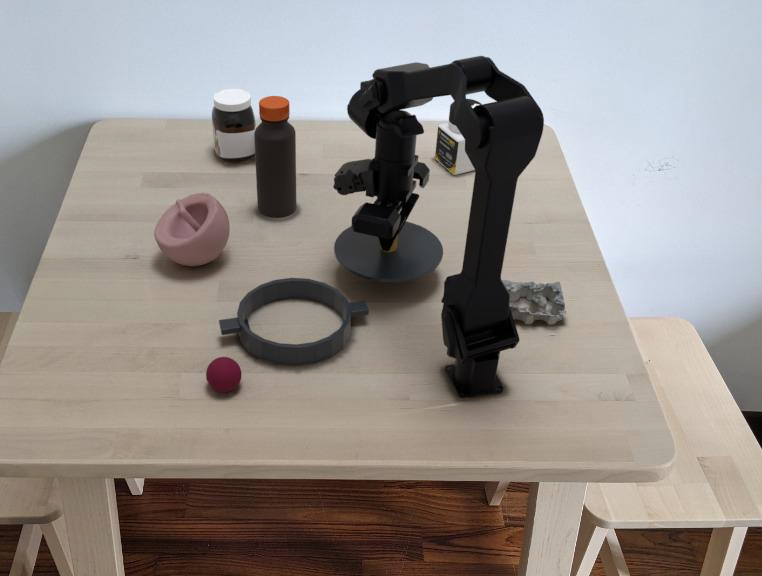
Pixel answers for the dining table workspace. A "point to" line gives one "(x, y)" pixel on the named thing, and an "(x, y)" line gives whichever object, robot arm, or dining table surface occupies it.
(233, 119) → the spread jar
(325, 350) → the pot
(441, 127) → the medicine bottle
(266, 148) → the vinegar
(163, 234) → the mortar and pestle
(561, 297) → the egg carton
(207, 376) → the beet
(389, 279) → the pot lid
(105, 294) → the dining table surface
